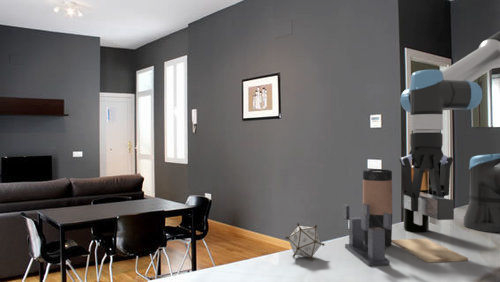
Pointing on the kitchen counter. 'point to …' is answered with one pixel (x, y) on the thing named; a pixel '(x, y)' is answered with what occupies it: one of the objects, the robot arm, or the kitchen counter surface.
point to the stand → (376, 237)
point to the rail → (432, 206)
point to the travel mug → (378, 199)
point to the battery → (409, 214)
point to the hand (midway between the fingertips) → (425, 223)
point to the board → (429, 250)
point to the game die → (305, 241)
